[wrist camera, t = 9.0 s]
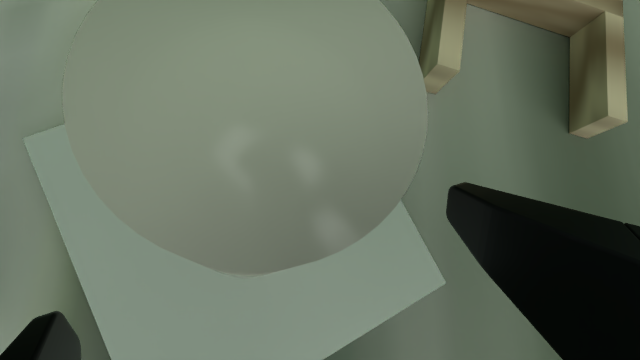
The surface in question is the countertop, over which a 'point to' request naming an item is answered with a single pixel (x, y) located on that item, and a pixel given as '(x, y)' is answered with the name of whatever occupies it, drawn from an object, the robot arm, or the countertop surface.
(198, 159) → the pale grey rounded piece
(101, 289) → the mat
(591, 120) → the holder
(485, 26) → the countertop surface
